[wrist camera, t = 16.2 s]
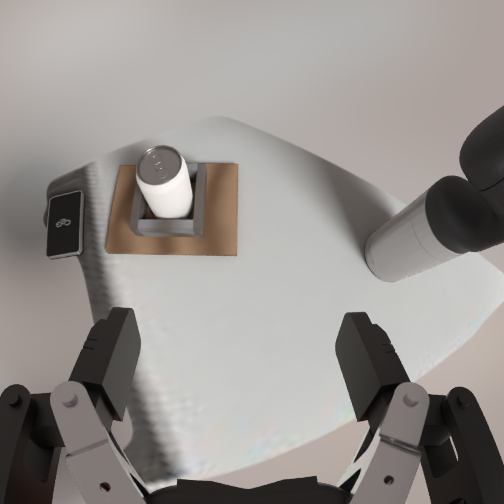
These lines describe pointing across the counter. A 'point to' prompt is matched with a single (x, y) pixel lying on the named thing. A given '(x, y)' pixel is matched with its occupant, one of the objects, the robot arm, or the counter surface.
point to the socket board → (177, 231)
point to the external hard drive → (65, 225)
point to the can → (165, 183)
